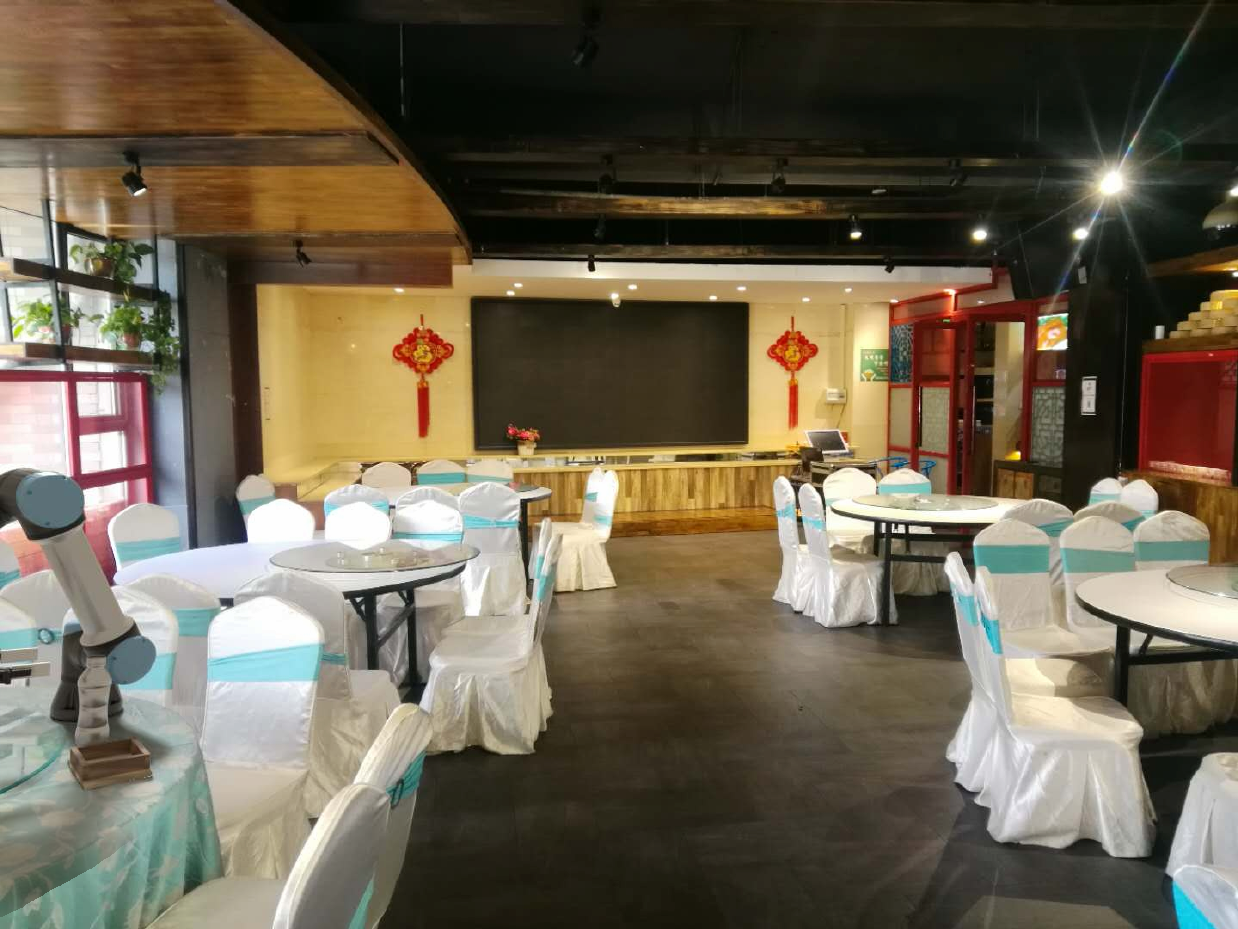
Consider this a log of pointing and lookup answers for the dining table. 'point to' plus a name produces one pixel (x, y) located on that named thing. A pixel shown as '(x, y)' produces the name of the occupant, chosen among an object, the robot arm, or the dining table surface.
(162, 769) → the dining table surface
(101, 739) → the plastic bottle
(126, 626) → the robot arm
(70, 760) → the open wooden box
